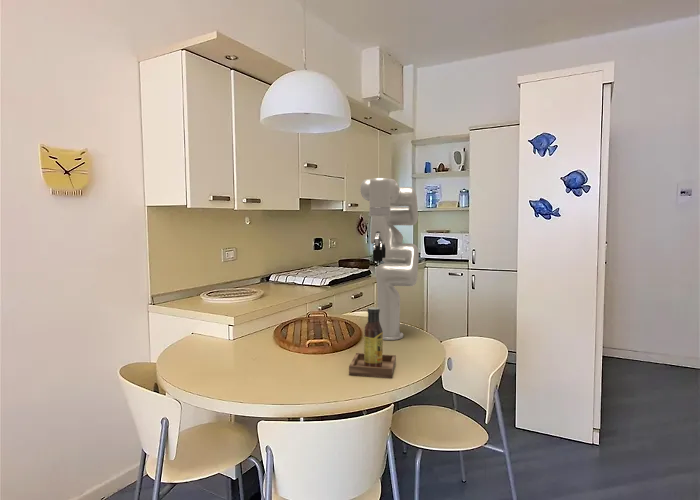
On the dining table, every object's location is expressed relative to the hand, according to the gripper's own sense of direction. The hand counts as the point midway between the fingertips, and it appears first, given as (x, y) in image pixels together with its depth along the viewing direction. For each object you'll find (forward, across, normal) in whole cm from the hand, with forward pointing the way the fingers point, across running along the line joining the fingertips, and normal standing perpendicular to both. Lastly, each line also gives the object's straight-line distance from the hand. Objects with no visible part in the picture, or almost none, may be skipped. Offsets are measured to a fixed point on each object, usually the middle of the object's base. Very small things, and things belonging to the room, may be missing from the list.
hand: (379, 259), depth 162 cm
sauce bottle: (+35, +16, 0) cm, 38 cm away
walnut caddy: (+36, +16, 0) cm, 39 cm away
